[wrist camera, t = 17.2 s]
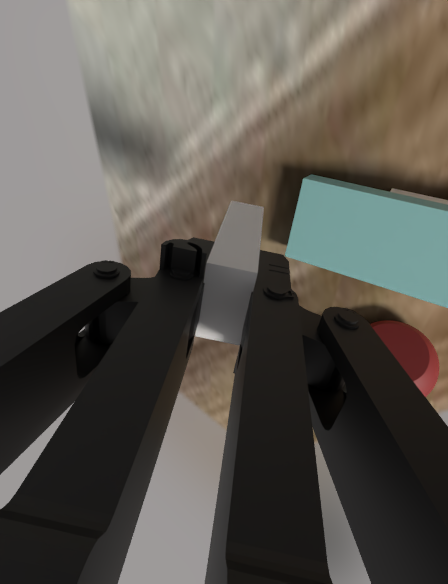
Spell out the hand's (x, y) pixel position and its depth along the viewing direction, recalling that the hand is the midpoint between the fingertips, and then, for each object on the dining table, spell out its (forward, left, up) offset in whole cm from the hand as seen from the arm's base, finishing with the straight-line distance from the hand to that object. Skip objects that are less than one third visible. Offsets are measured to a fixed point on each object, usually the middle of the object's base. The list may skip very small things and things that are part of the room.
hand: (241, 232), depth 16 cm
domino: (+1, +3, -7) cm, 7 cm away
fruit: (+10, +13, -8) cm, 18 cm away
